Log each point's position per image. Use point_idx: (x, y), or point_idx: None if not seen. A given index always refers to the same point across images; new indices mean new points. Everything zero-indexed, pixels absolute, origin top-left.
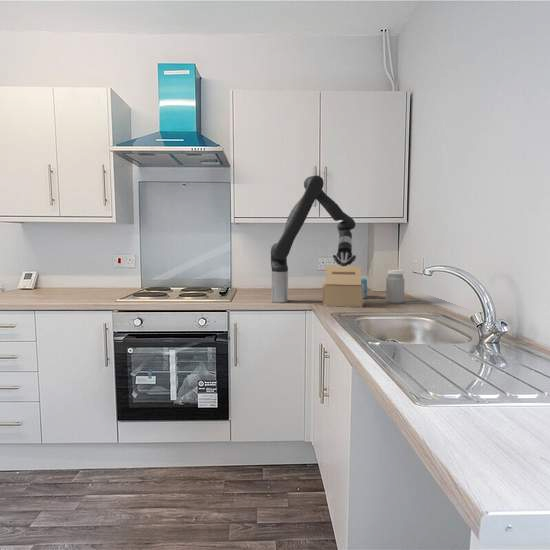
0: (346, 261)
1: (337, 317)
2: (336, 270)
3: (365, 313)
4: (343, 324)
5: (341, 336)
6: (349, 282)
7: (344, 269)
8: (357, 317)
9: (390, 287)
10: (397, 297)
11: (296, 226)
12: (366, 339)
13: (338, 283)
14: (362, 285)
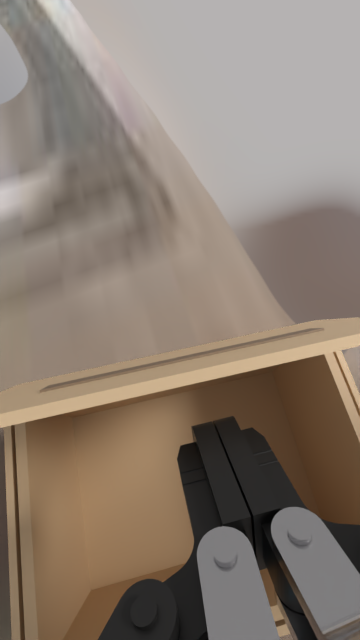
0: (207, 576)
1: (130, 165)
2: (279, 342)
3: (35, 266)
4: (89, 94)
5: (70, 9)
6: (119, 363)
7: (179, 366)
8: (59, 187)
9: None
10: None
11: None
12: (11, 6)
13: (213, 342)
14: (17, 458)
